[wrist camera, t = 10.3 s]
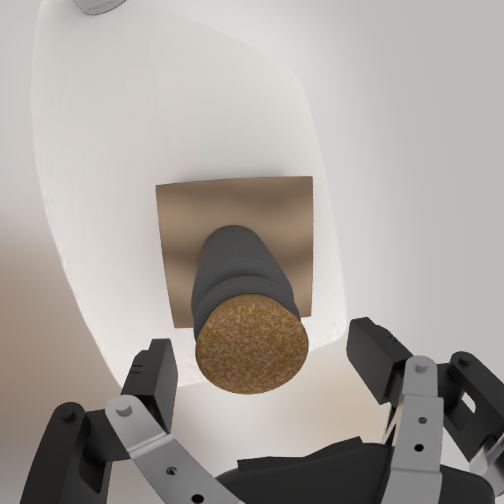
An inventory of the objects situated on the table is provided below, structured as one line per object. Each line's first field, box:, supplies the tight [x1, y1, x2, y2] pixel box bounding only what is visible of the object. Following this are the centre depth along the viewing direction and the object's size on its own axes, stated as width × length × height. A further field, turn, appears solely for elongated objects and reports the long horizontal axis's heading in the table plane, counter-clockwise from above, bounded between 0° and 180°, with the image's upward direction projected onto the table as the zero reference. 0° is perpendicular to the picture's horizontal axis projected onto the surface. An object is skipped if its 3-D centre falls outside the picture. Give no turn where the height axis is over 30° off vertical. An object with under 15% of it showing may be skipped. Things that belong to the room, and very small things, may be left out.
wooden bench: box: [156, 176, 313, 328], centre depth 29 cm, size 14×14×9 cm
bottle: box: [191, 225, 309, 394], centre depth 18 cm, size 6×6×15 cm
